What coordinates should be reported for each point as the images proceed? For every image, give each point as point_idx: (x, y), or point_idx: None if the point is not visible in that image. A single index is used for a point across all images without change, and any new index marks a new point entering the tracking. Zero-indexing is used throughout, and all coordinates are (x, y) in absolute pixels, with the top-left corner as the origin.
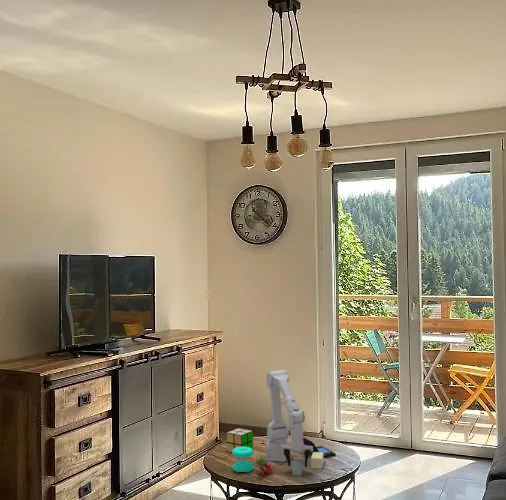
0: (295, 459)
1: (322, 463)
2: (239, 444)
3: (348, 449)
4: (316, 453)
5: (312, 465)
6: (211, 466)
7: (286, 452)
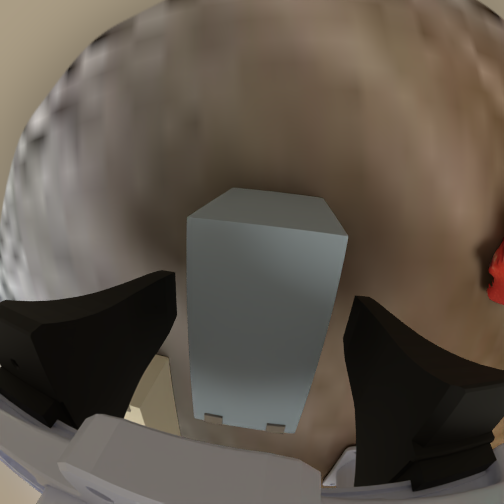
0: (282, 363)
1: None
2: None
3: None
4: None
5: (150, 367)
6: None
7: (485, 397)
